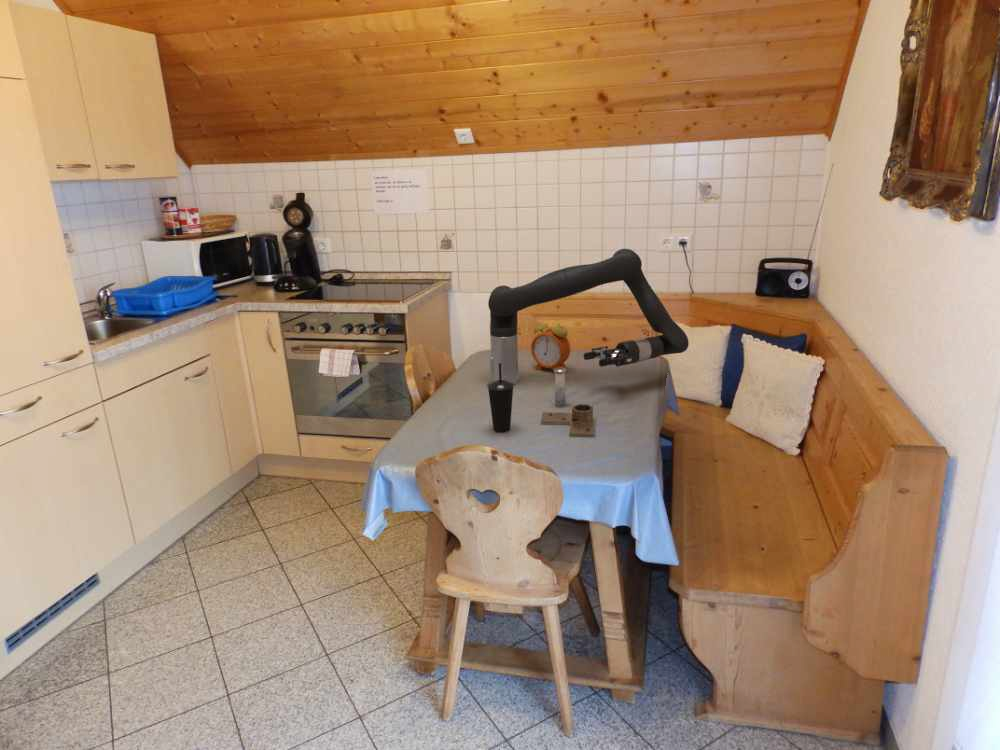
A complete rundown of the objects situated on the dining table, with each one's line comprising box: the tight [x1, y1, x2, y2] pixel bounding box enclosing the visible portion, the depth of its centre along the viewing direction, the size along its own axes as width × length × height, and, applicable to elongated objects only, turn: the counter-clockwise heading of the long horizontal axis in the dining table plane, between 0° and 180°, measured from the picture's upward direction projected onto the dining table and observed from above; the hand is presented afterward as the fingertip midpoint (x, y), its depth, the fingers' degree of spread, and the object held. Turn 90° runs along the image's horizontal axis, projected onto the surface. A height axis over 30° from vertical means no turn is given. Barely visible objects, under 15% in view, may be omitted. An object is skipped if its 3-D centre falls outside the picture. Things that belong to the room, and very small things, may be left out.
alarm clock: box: [530, 315, 571, 374], centre depth 243 cm, size 13×6×20 cm, turn 55°
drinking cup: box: [486, 363, 515, 434], centre depth 192 cm, size 8×8×20 cm
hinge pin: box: [553, 367, 567, 408], centre depth 210 cm, size 4×4×12 cm
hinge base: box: [540, 403, 596, 438], centre depth 195 cm, size 16×16×4 cm
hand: (591, 360), depth 212 cm, fingers open, 8 cm apart
